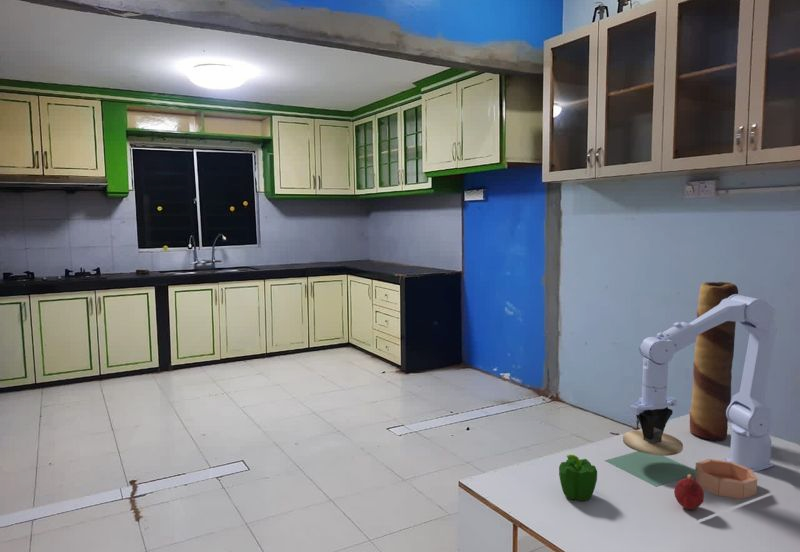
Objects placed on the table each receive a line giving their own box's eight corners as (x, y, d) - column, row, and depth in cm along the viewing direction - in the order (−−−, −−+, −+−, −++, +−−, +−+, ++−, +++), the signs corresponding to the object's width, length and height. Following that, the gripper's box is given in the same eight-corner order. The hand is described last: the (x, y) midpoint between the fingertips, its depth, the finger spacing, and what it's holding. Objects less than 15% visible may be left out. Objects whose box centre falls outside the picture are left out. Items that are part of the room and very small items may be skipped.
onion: (706, 518, 121) (708, 482, 120) (677, 515, 122) (679, 480, 121) (698, 504, 126) (700, 470, 126) (670, 502, 128) (672, 468, 127)
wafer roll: (739, 440, 161) (748, 284, 156) (706, 443, 159) (714, 285, 154) (712, 427, 172) (720, 280, 167) (681, 429, 170) (688, 281, 165)
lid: (648, 429, 153) (649, 415, 153) (695, 448, 141) (696, 433, 140) (610, 439, 147) (611, 425, 147) (656, 460, 135) (657, 444, 134)
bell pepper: (596, 490, 134) (597, 449, 132) (596, 507, 126) (597, 464, 125) (559, 485, 136) (560, 445, 135) (557, 501, 129) (558, 459, 127)
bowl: (717, 471, 142) (717, 456, 142) (765, 492, 132) (766, 475, 131) (685, 481, 137) (685, 466, 137) (733, 504, 126) (734, 487, 126)
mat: (647, 450, 155) (647, 448, 155) (700, 473, 141) (700, 472, 141) (604, 462, 148) (604, 460, 148) (656, 488, 134) (656, 486, 134)
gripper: (660, 377, 149) (658, 426, 151) (621, 385, 143) (619, 436, 144) (684, 384, 143) (682, 435, 144) (644, 392, 136) (642, 446, 138)
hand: (652, 436), depth 144 cm, fingers closed on lid, 3 cm apart
